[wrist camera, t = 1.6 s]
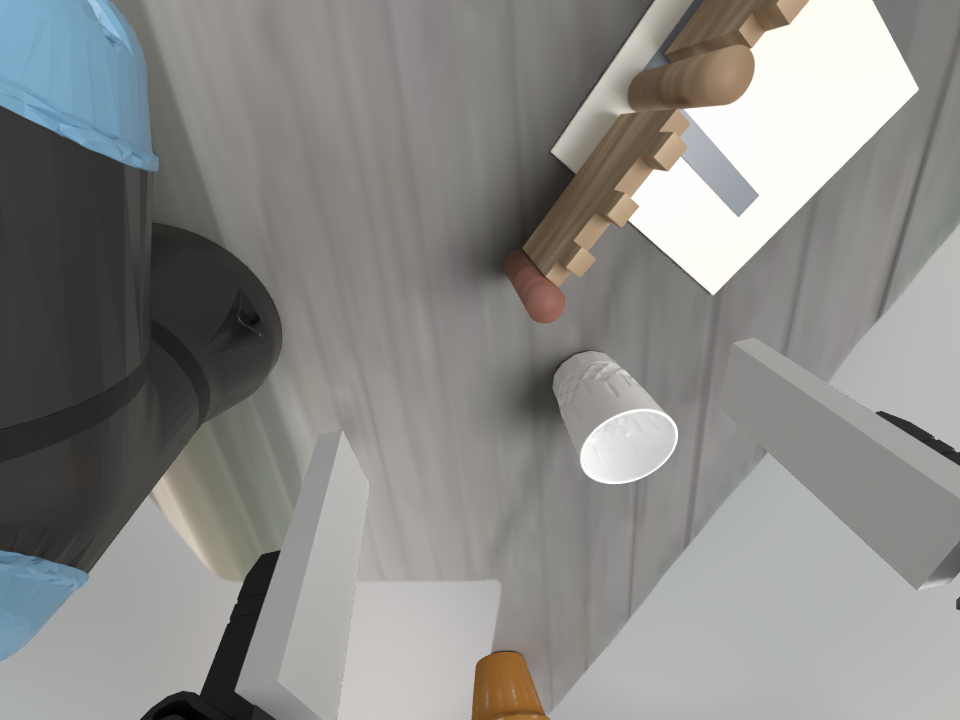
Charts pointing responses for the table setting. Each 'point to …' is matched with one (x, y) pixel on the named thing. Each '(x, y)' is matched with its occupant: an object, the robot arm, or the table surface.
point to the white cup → (611, 419)
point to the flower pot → (505, 689)
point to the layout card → (751, 129)
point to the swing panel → (593, 206)
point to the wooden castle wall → (711, 55)
